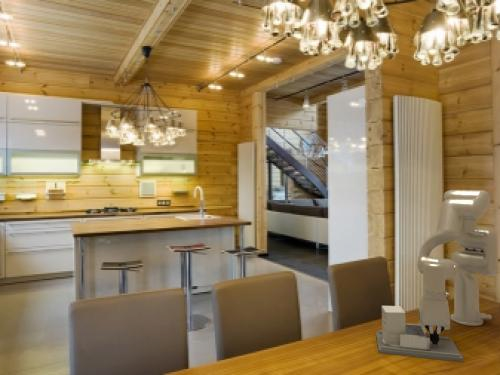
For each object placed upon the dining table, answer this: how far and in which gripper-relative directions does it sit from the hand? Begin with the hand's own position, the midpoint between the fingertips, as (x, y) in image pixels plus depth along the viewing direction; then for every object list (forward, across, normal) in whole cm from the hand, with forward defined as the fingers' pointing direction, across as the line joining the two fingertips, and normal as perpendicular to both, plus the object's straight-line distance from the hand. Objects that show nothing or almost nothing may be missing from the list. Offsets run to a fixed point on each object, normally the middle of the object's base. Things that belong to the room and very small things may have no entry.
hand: (434, 343), depth 136 cm
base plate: (+2, +6, 0) cm, 7 cm away
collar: (+1, +8, 0) cm, 8 cm away
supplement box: (+1, +14, 0) cm, 14 cm away
